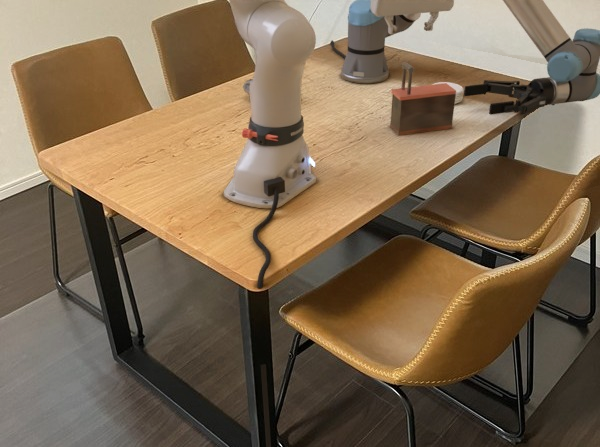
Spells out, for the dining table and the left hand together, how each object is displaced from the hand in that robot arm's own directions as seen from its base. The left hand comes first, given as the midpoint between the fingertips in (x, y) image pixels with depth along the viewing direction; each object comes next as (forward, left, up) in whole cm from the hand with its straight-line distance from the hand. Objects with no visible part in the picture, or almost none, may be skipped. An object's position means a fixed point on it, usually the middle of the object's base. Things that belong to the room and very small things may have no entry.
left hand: (410, 31), depth 151 cm
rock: (+5, +43, -26) cm, 50 cm away
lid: (+3, -4, -16) cm, 17 cm away
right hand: (+13, -16, -20) cm, 29 cm away
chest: (+3, -4, -26) cm, 26 cm away
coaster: (+26, -5, -26) cm, 37 cm away
